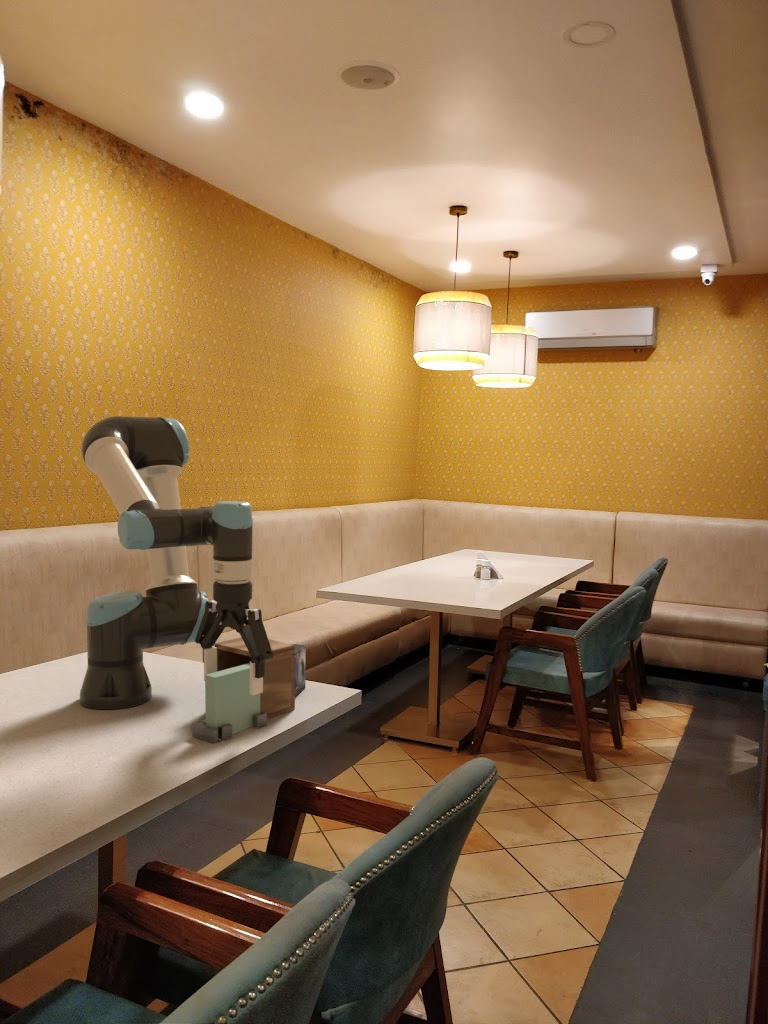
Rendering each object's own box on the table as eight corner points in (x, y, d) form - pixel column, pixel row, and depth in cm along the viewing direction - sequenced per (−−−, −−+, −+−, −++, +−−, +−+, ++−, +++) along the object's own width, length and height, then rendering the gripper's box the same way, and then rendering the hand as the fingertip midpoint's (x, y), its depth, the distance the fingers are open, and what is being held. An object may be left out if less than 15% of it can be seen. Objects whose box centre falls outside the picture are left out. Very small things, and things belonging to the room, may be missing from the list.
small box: (293, 701, 179) (292, 654, 178) (265, 699, 180) (264, 653, 180) (307, 688, 189) (307, 643, 189) (280, 686, 191) (280, 642, 190)
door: (205, 735, 157) (205, 674, 156) (250, 720, 166) (249, 662, 165) (215, 739, 155) (215, 677, 155) (260, 723, 164) (259, 665, 164)
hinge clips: (192, 736, 157) (192, 723, 157) (245, 718, 167) (245, 706, 167) (213, 743, 153) (213, 730, 153) (266, 725, 163) (266, 712, 163)
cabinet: (215, 707, 174) (214, 643, 173) (250, 696, 182) (249, 635, 181) (260, 721, 166) (259, 653, 165) (294, 709, 173) (294, 644, 172)
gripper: (177, 575, 163) (177, 678, 165) (262, 591, 148) (262, 704, 150) (206, 570, 169) (206, 670, 171) (291, 585, 154) (291, 695, 156)
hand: (232, 686), depth 161 cm, fingers open, 13 cm apart
